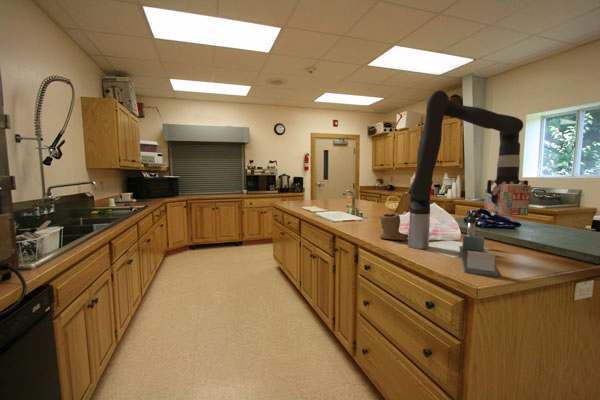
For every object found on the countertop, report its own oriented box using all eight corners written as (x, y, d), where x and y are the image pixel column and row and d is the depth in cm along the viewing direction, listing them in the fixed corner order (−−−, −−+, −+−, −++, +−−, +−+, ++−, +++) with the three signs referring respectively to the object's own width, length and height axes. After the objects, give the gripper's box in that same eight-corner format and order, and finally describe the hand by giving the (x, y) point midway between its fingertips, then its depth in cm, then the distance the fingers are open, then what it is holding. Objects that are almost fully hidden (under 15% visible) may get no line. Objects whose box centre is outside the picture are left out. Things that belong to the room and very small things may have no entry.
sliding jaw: (462, 248, 122) (464, 219, 121) (460, 241, 135) (462, 215, 134) (483, 250, 118) (485, 221, 117) (479, 243, 131) (481, 216, 130)
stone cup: (376, 240, 146) (377, 213, 145) (381, 235, 156) (382, 211, 155) (405, 243, 138) (406, 215, 137) (408, 239, 149) (409, 213, 147)
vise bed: (464, 272, 96) (465, 252, 96) (459, 249, 127) (460, 234, 127) (497, 277, 92) (499, 256, 91) (484, 251, 123) (485, 236, 122)
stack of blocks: (483, 208, 125) (485, 183, 124) (498, 208, 124) (499, 183, 123) (510, 215, 104) (513, 184, 103) (528, 215, 103) (531, 184, 102)
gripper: (489, 166, 112) (486, 203, 114) (532, 165, 105) (529, 205, 107) (486, 166, 119) (484, 202, 120) (527, 166, 112) (524, 204, 113)
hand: (505, 203), depth 113 cm, fingers closed on stack of blocks, 7 cm apart
